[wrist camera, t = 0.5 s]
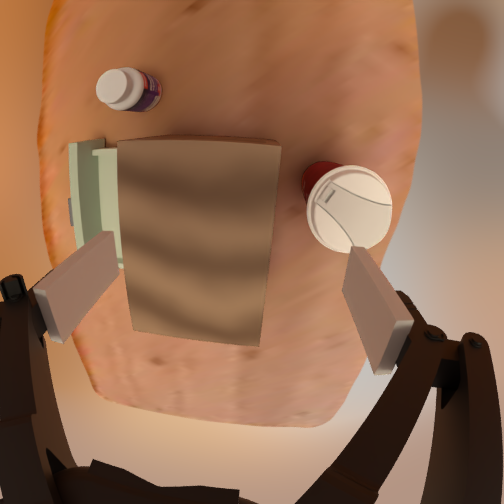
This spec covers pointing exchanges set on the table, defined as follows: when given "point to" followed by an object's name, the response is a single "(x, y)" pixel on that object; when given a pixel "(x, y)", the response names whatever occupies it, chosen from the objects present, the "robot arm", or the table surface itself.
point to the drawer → (94, 192)
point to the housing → (197, 233)
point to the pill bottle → (128, 90)
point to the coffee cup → (346, 205)
